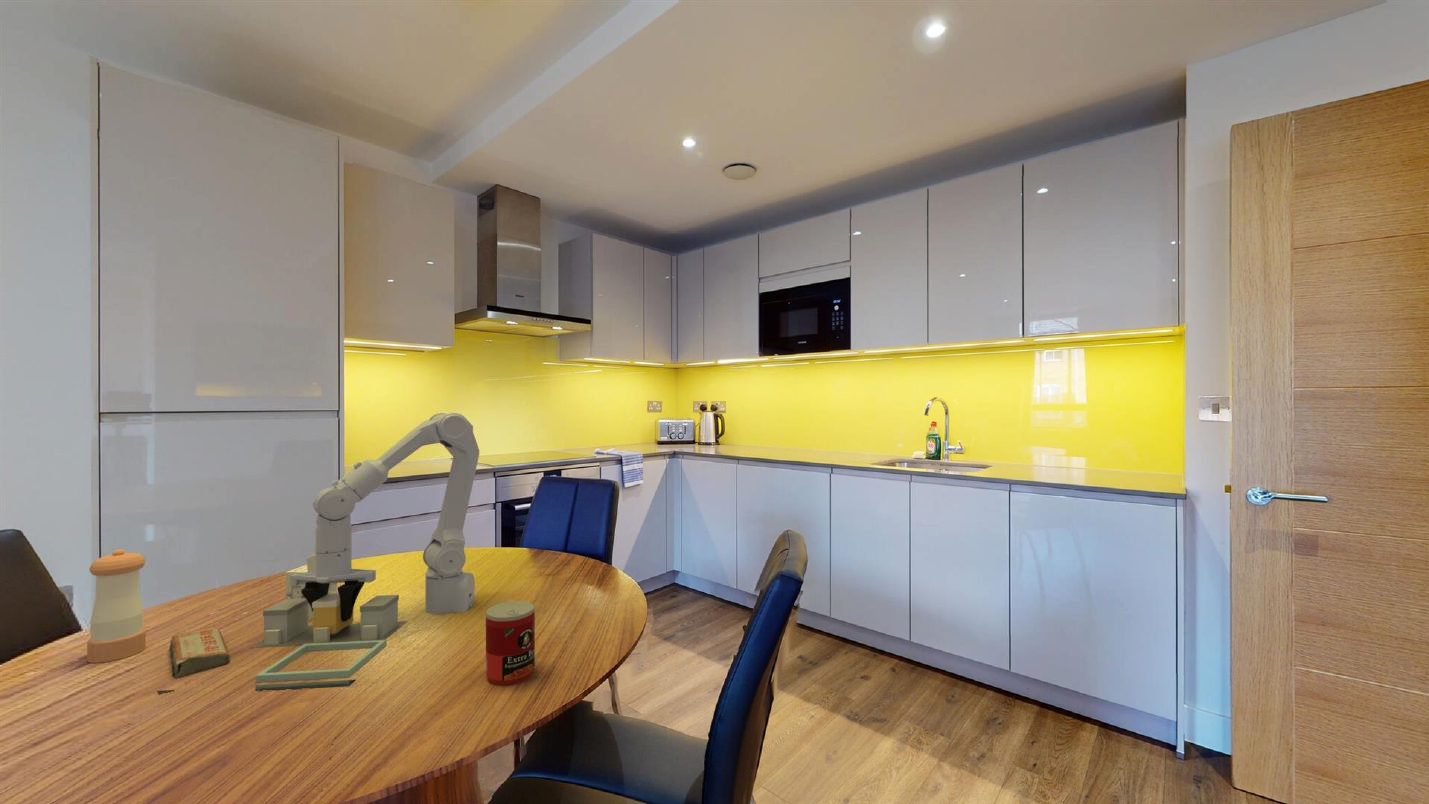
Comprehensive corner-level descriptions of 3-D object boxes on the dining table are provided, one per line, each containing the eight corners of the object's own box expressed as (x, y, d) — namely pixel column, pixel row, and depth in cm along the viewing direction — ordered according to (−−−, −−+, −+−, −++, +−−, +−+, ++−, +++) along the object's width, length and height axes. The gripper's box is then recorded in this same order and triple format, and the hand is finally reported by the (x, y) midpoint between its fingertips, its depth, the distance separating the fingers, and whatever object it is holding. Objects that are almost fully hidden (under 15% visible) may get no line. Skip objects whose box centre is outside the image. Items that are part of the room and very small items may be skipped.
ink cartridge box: (315, 613, 120) (316, 546, 121) (337, 613, 120) (338, 546, 121) (284, 628, 112) (284, 557, 112) (308, 628, 112) (308, 557, 112)
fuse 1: (308, 628, 108) (308, 598, 108) (287, 642, 102) (287, 609, 102) (285, 630, 107) (285, 599, 107) (262, 643, 101) (263, 610, 101)
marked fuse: (354, 621, 109) (354, 590, 109) (335, 633, 102) (335, 601, 103) (331, 622, 108) (331, 591, 108) (312, 634, 102) (312, 602, 102)
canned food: (506, 690, 86) (506, 620, 86) (475, 678, 90) (475, 611, 90) (545, 671, 92) (544, 605, 93) (514, 660, 97) (514, 597, 97)
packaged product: (155, 636, 98) (229, 620, 105) (154, 663, 98) (228, 646, 105) (157, 667, 85) (241, 647, 93) (156, 698, 85) (240, 676, 92)
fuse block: (407, 628, 111) (407, 608, 111) (383, 649, 101) (383, 627, 102) (287, 634, 109) (287, 613, 109) (249, 656, 99) (250, 634, 99)
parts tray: (386, 653, 100) (386, 639, 100) (349, 686, 88) (349, 670, 88) (304, 657, 98) (304, 643, 98) (255, 691, 86) (255, 675, 86)
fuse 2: (398, 624, 109) (398, 594, 110) (383, 637, 103) (383, 605, 103) (376, 625, 109) (376, 595, 109) (359, 638, 103) (359, 606, 103)
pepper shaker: (132, 643, 105) (133, 544, 106) (154, 648, 103) (155, 546, 103) (77, 659, 98) (79, 553, 99) (100, 665, 96) (102, 556, 96)
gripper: (279, 556, 101) (279, 630, 101) (362, 553, 102) (362, 626, 102) (304, 547, 108) (303, 616, 108) (381, 544, 109) (381, 612, 109)
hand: (333, 620), depth 105 cm, fingers closed on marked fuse, 4 cm apart
